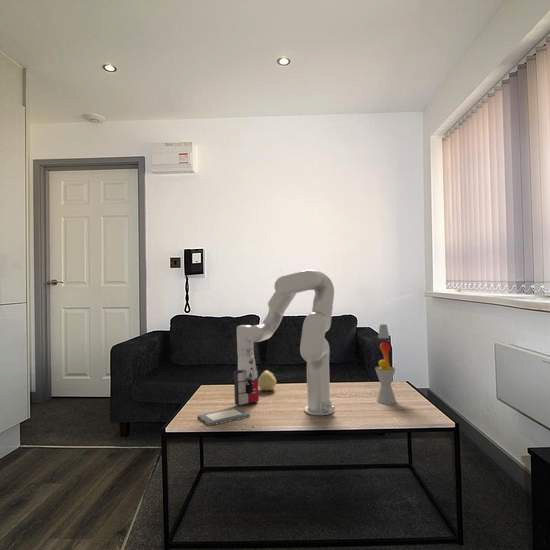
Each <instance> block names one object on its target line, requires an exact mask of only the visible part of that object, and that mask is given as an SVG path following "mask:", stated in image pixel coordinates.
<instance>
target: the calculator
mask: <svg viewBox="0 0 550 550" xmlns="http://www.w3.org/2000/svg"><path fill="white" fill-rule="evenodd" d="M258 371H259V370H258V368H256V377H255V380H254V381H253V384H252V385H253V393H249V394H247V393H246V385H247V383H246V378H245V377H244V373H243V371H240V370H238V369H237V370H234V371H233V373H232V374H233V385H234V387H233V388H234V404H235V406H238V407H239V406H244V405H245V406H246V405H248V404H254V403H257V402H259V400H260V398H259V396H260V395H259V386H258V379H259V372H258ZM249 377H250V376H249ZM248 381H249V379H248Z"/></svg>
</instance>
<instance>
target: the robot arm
mask: <svg viewBox="0 0 550 550" xmlns="http://www.w3.org/2000/svg"><path fill="white" fill-rule="evenodd" d="M273 285H274V287H273V288H274V293H273V294H272V295H271V297H270V299H269V301H268V302H267V306H268V312H267V315H266V316H265V318H264V320H263V322H262V323H260V324H259V323H258V324H256V325H250V324H241V325H237V326H236V344H237V345H236V348H237V352H236V353H237V371H238V370H240V371H243V373H244V377H245V378H246V383H247V385H246V393H247V394H249V393H253V385H252V384H253V381H254V380H255V377H256V369H257V367H256V366H257V365H256V359H255V354H254V353H255V352H254V351H255V350H254V343H259V342H263V341H266V340H269V339H270V338H271V337H272V336H273V335H274V333H275V332H276V330H277V329H278V328H279V326H280V324H281V321H282V319H283V317H284V314H285V312H286V310H287V309H288V308H289V306H290V304H291V302H292V301H293V300H294V298H295V296H296V295H297V294H298V293H302V292H306V291H314V296H313V301H312V308H311V313H309V314H307V316H306V317H305V318H304V321H303V322H302V323H303V324H302V330H301V337H300V346H299V352H300V356H301V358H303V360H304V361H305V362H306V384H307V385H306V389H307V392H306V393H307V394H306V395H307V405H306V406H304V409H303V410H304V412H305V413H306V414H308V415H311V416H327V415H328V416H329V415H331V414H333V413H334V412H335V410H336V407H335V405H333V404H332V402H333V401H332V400H331V389H330V388H331V387H330V386H331V385H330V354H331V353H330V352H331V351H330V344H329V342H328V340H327V339H326V338H325V336H326V333H327V332H328V331H329V330H330V328H331V324H332V315H333V307H334V306H333V305H334V299H335V289H334V288H335V287H334V283H333V281H332V280H331V278H329V277H328V276H327V275H326V274H325V273H324V272H322V271H319V270H316V269H304V270H301V271H297V272H293V273H290V274H289V273H288V274H285V275H282V276H279V277H278V278H277V279H276V280H275V282H274V284H273ZM249 376H250V377H249ZM248 379H249V381H248Z"/></svg>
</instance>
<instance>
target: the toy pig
mask: <svg viewBox="0 0 550 550" xmlns="http://www.w3.org/2000/svg"><path fill="white" fill-rule="evenodd" d="M276 385H277V379H276V375H275V373H273V372H271V371H270V370H268V369H267V370H264V371H263V372H262V373H261V375H260V376H258V388H259V390H260V391H274V389H275V387H276Z"/></svg>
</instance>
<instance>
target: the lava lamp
mask: <svg viewBox="0 0 550 550" xmlns="http://www.w3.org/2000/svg"><path fill="white" fill-rule="evenodd" d="M378 328H379V329H378V337H377V338H378V339H389V338H390V335H389V330H388V325H387V324H385V323H380V324H379V327H378ZM390 348H391V347H390V344H389V343H388V342H387V341H383V342H381V343H380V345H379V349H380V351H381V353H382V355H383V359H380V360H379V361H378V366H375V367H374V369H375V372H376V376H377V378H378V380H379V383H380V386H379V390H378V392H377V393H378V395H377V398H376V403H378V404H382V403H384V404H383V405H394V404H396V403H397V399H396V397H395V393H394V391H393V388H392V381H393V379H394V375H395V372H396V368H395V367H393V366H390V365H391V364H390V362H389V353H390ZM393 403H394V404H393Z"/></svg>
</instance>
